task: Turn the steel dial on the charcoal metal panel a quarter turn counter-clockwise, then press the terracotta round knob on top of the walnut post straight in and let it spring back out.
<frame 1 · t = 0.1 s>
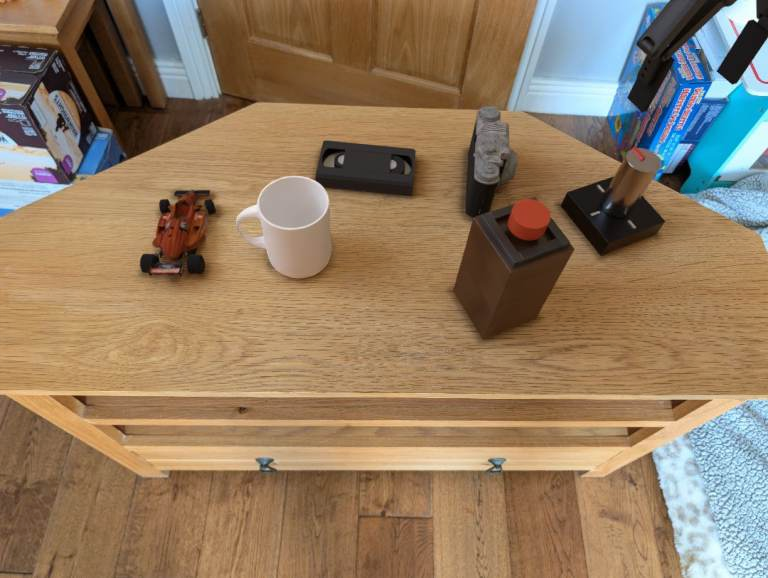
hand: (682, 90, 65), 21 cm above the tv stand, tool pointing down, fingers open, 13 cm apart
camera: (486, 184, 85), on the tv stand
dial panel: (607, 220, 82), on the tv stand
vhs tape: (366, 173, 85), on the tv stand
mug: (288, 254, 76), on the tv stand
pillar: (494, 304, 73), on the tv stand
dial: (629, 183, 75), point 8 cm above the tv stand, hinge at 0.0°
toy car: (185, 238, 77), on the tv stand
press knob: (528, 219, 58), point 17 cm above the tv stand, slide at 0.1 cm
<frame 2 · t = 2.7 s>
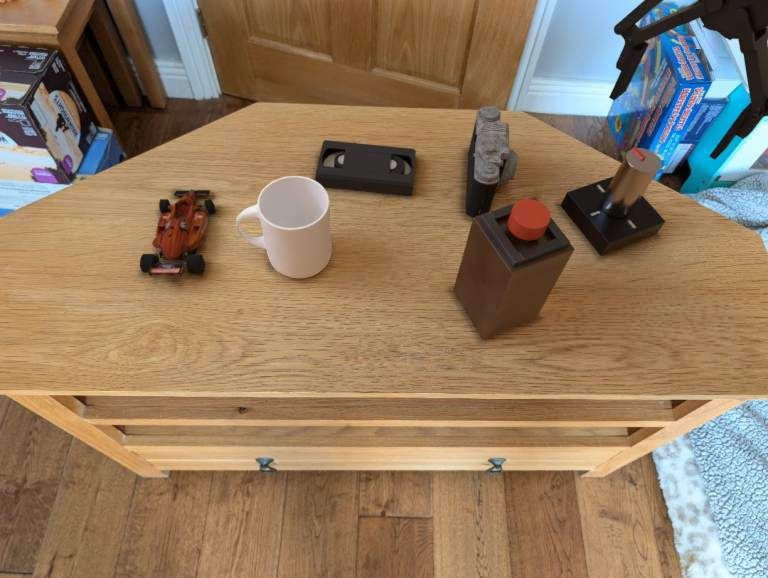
hand: (665, 122, 67), 18 cm above the tv stand, tool pointing down, fingers open, 13 cm apart
nothing on the tv stand moved.
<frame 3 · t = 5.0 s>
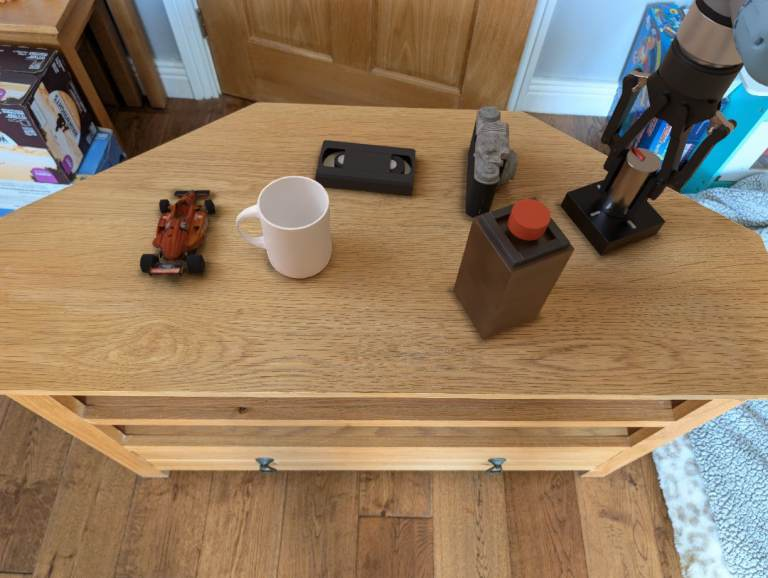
hand: (620, 198, 78), 5 cm above the tv stand, tool pointing down, fingers closed on dial, 4 cm apart
dial: (629, 183, 75), point 8 cm above the tv stand, hinge at -0.1°, touching gripper
everything else where it was.
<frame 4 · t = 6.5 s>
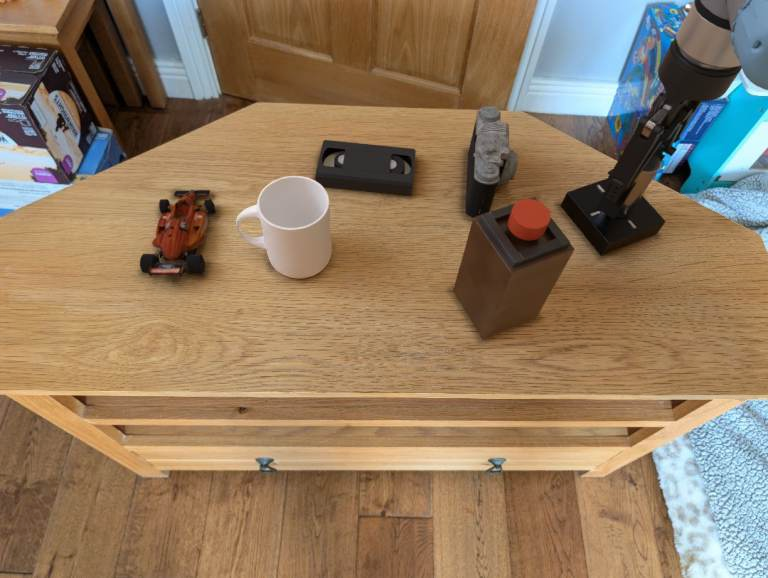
hand: (620, 198, 78), 5 cm above the tv stand, tool pointing down, fingers open, 6 cm apart
dial: (629, 183, 75), point 8 cm above the tv stand, hinge at 90.0°
everything else where it was.
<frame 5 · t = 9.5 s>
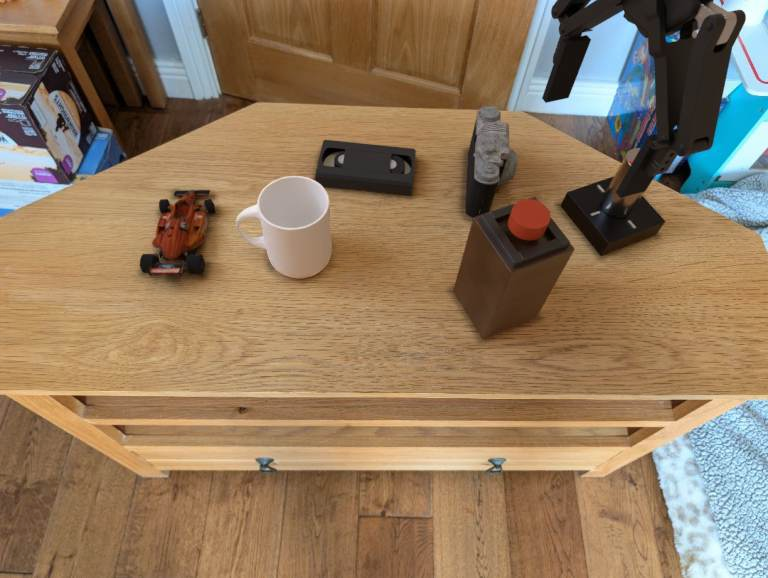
hand: (590, 142, 54), 25 cm above the tv stand, tool pointing down, fingers open, 13 cm apart
nothing on the tv stand moved.
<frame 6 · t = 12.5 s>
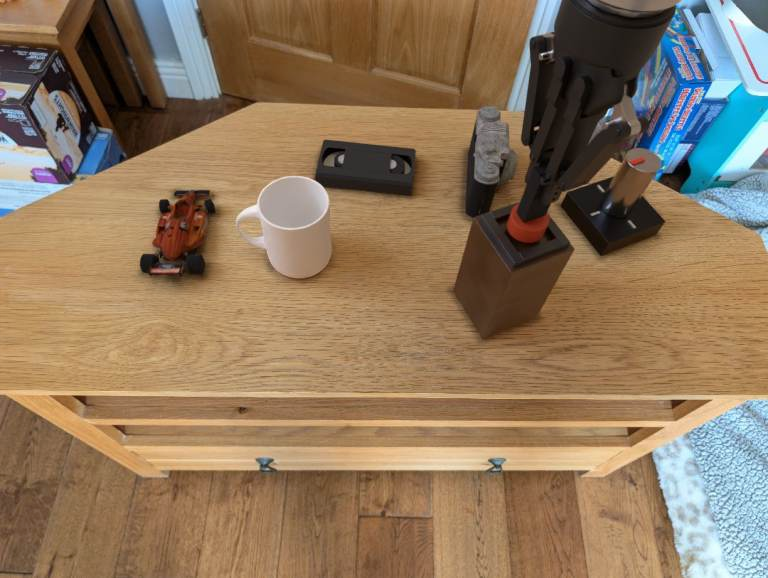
hand: (530, 213, 58), 18 cm above the tv stand, tool pointing down, fingers closed
press knob: (527, 222, 59), point 17 cm above the tv stand, slide at -0.3 cm, touching gripper
everything else where it was.
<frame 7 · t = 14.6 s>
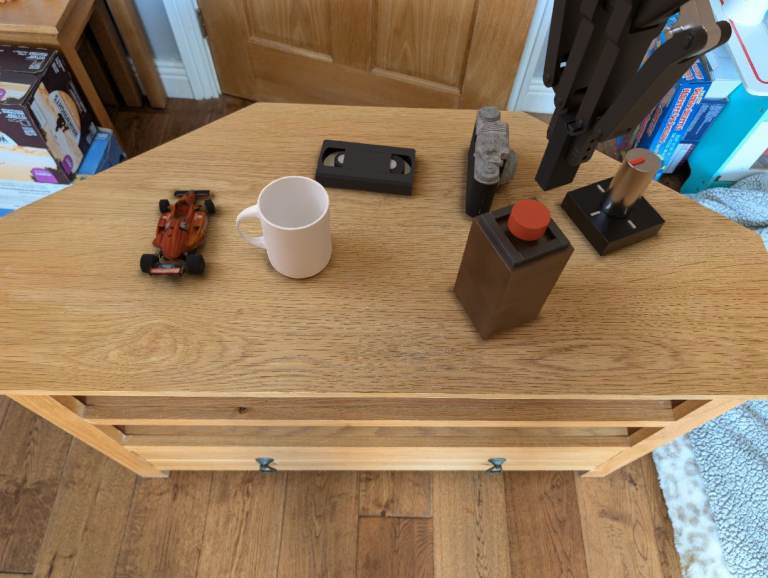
hand: (553, 180, 45), 29 cm above the tv stand, tool pointing down, fingers closed
press knob: (528, 219, 58), point 17 cm above the tv stand, slide at 0.1 cm
everything else where it was.
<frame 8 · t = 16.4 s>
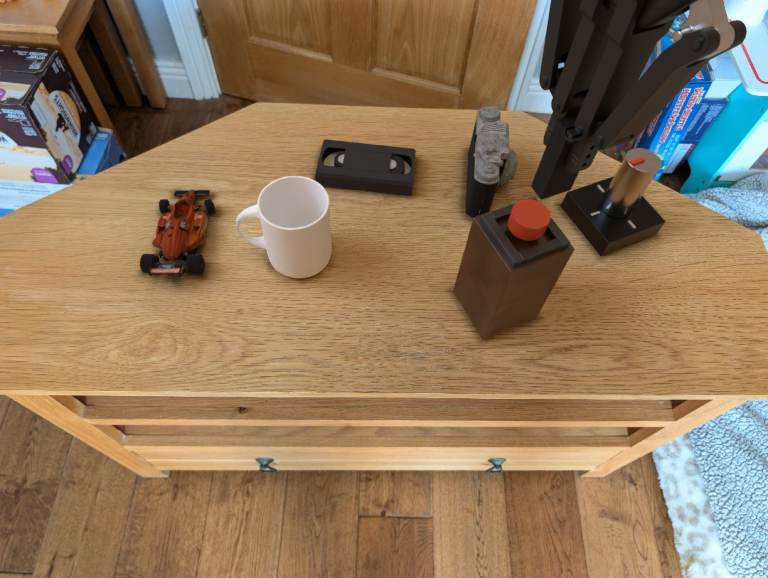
hand: (550, 188, 43), 30 cm above the tv stand, tool pointing down, fingers closed
nothing on the tv stand moved.
at the end: dial at +90° (first picture: +0°); press knob pushed in 1.1 cm at the most during the clip, back to where it started at the end; press knob slide at 0.1 cm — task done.
